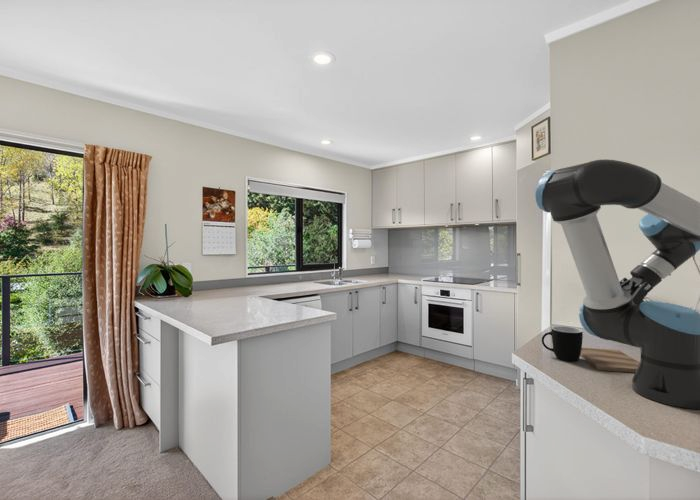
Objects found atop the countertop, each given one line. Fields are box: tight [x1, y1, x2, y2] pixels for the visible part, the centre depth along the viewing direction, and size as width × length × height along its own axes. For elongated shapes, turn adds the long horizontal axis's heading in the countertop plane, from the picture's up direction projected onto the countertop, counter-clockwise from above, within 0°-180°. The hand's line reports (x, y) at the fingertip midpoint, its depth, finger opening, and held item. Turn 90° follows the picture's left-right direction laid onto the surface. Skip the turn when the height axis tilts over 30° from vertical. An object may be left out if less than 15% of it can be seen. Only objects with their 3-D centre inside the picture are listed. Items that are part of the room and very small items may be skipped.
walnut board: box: [580, 347, 640, 374], centre depth 112 cm, size 20×14×1 cm
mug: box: [541, 325, 584, 363], centre depth 116 cm, size 12×9×10 cm
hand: (597, 316), depth 113 cm, fingers open, 13 cm apart
